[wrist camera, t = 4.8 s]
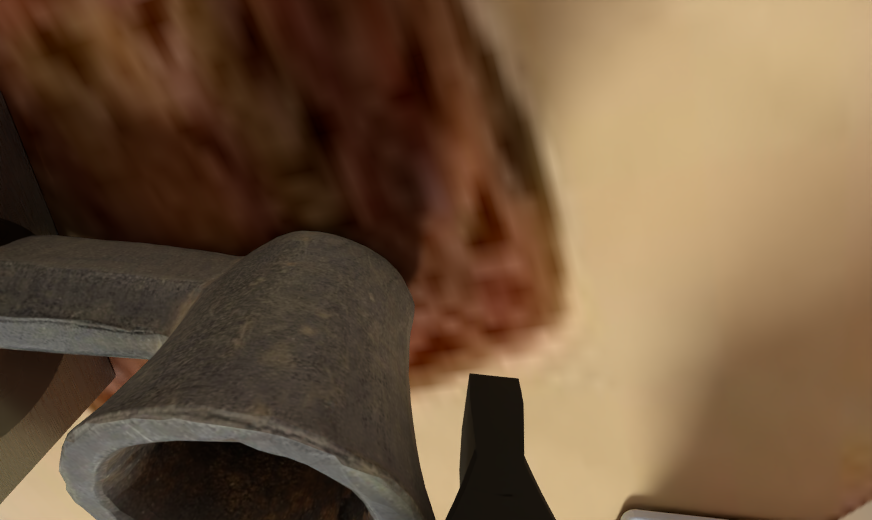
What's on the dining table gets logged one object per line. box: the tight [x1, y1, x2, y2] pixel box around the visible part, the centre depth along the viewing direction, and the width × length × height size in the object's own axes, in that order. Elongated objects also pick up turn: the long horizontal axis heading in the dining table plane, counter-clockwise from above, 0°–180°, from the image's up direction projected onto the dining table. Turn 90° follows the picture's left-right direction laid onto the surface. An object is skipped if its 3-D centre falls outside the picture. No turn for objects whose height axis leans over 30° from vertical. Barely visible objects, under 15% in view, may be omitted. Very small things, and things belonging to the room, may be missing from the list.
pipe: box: [0, 231, 436, 520], centre depth 12 cm, size 6×13×8 cm, turn 85°
